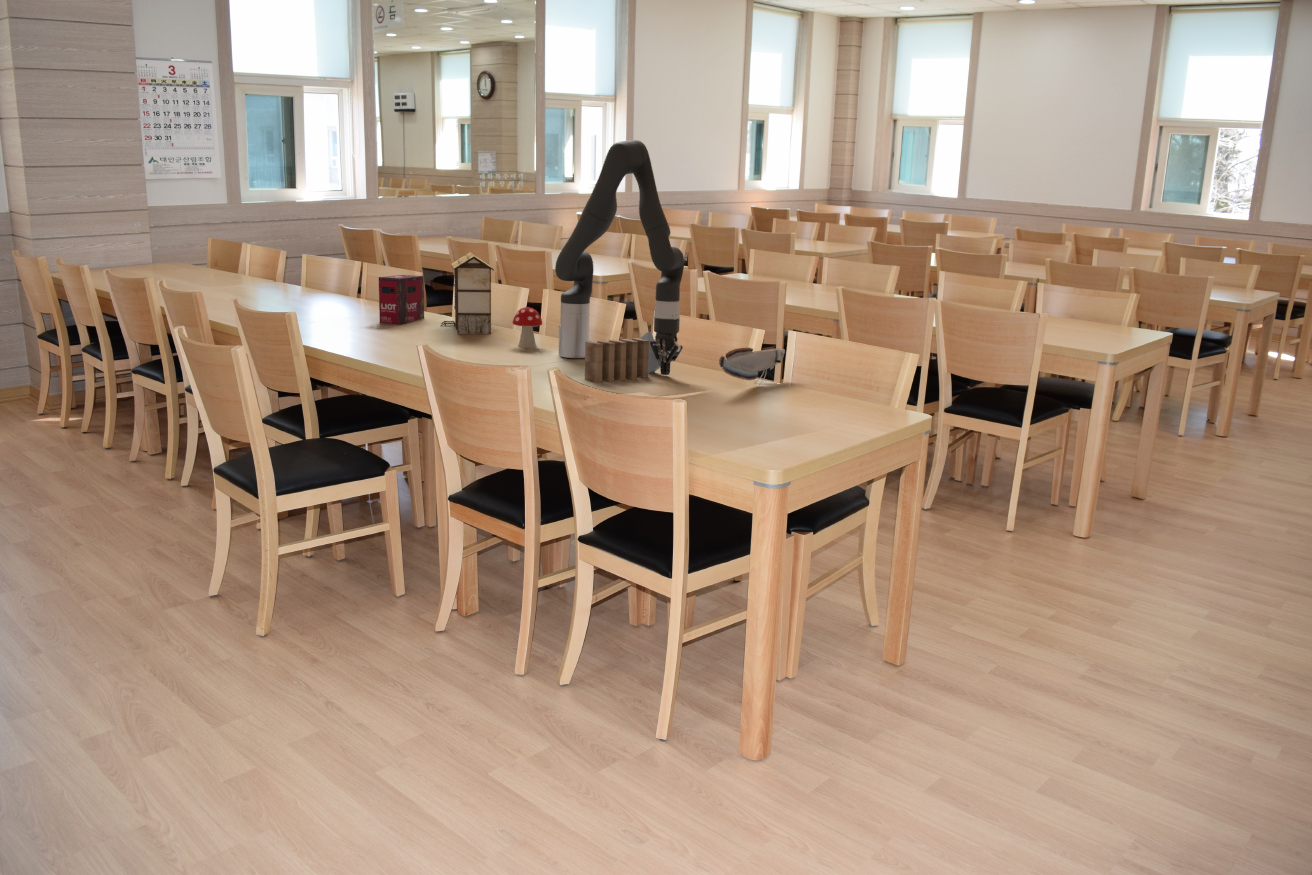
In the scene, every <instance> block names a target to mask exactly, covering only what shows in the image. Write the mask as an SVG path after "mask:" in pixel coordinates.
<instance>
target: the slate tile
mask: <svg viewBox="0 0 1312 875" xmlns="http://www.w3.org/2000/svg"><path fill="white" fill-rule="evenodd" d="M639 339H644V340H648V341H649V358H648V374H651V373H655V372H656V371H658V370H659V369H661V368H660V367H661V362H660V361H659V359H656V357H655V355H654V352H653V350H652V348H651V345H650V341H654V340H655V337H654V336H653V333H652V331H649V332H645V333H644V334H643V335H642V336H641V337H640V338H639Z"/></svg>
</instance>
